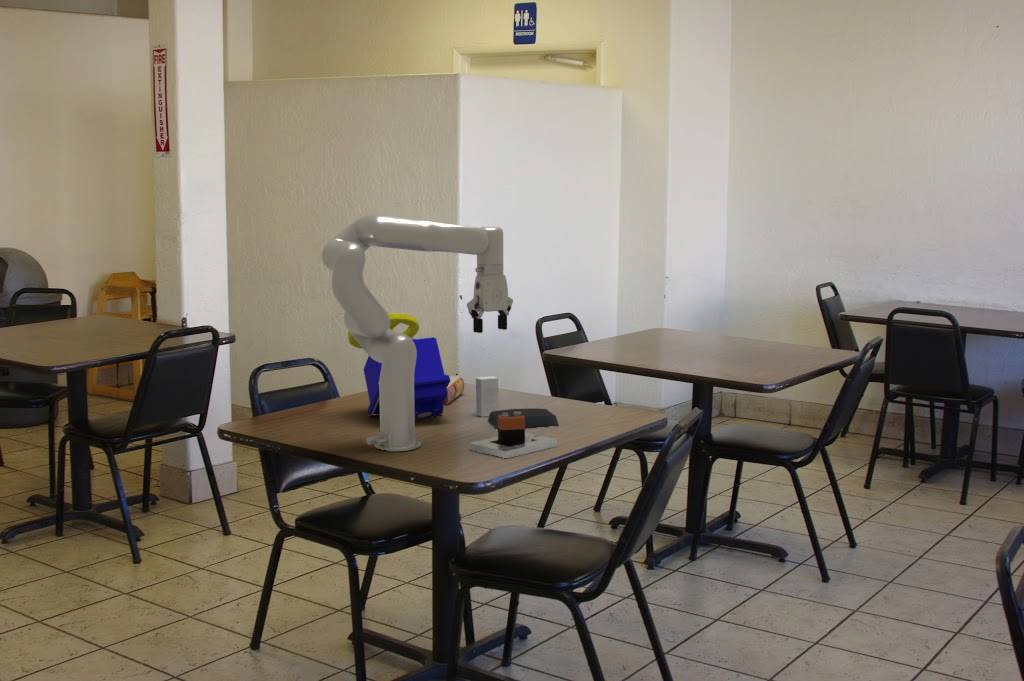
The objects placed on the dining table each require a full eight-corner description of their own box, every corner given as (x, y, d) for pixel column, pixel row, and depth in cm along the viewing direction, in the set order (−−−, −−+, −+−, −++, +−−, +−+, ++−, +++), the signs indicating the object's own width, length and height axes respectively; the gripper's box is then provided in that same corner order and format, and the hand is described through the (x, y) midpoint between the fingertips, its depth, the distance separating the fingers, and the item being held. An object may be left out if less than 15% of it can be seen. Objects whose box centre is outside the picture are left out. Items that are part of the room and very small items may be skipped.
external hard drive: (486, 422, 339) (486, 409, 339) (547, 419, 344) (547, 406, 343) (496, 431, 327) (496, 418, 326) (559, 428, 331) (559, 414, 331)
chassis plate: (505, 458, 292) (505, 451, 292) (469, 450, 302) (469, 442, 302) (556, 446, 306) (556, 439, 306) (520, 438, 316) (520, 431, 316)
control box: (459, 398, 330) (438, 307, 340) (371, 410, 321) (352, 316, 331) (441, 427, 352) (422, 341, 363) (358, 439, 343) (341, 350, 354)
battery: (525, 449, 303) (525, 413, 301) (500, 450, 301) (500, 414, 300) (521, 445, 307) (521, 410, 306) (497, 447, 306) (497, 411, 304)
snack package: (449, 406, 363) (448, 386, 362) (429, 406, 364) (429, 385, 363) (464, 394, 383) (464, 375, 382) (446, 394, 385) (446, 374, 384)
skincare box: (493, 413, 351) (493, 375, 350) (498, 415, 348) (498, 377, 346) (475, 414, 349) (475, 377, 347) (481, 417, 345) (480, 379, 343)
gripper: (477, 273, 305) (477, 335, 307) (521, 269, 317) (521, 329, 320) (458, 271, 310) (459, 332, 313) (502, 268, 322) (502, 327, 325)
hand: (490, 330), depth 316 cm, fingers open, 9 cm apart
